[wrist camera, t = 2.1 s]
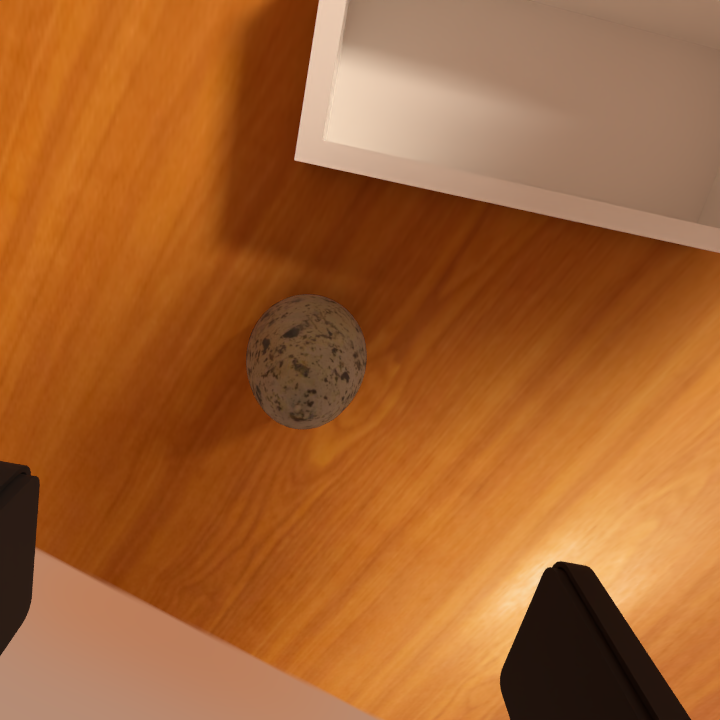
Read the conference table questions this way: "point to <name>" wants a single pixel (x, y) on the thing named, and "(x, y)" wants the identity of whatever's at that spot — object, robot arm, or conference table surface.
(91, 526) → the conference table surface
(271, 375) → the decorative egg
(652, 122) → the open rectangular box
